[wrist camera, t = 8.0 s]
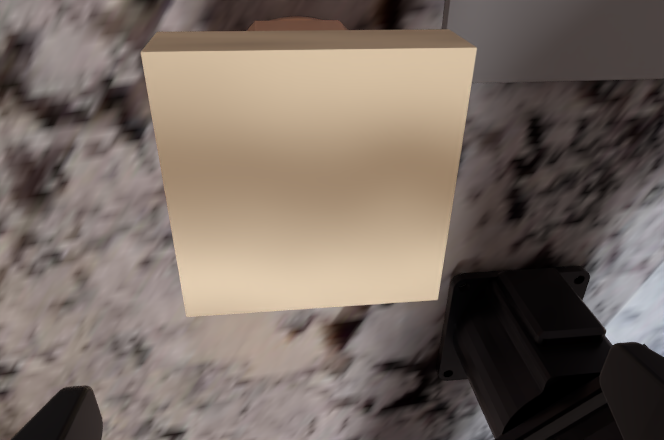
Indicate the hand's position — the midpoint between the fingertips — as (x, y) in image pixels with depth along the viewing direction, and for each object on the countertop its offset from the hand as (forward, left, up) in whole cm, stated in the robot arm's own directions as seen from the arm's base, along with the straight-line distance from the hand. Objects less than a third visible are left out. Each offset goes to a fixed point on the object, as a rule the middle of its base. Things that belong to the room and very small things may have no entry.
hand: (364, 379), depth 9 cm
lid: (+1, 0, -7) cm, 7 cm away
